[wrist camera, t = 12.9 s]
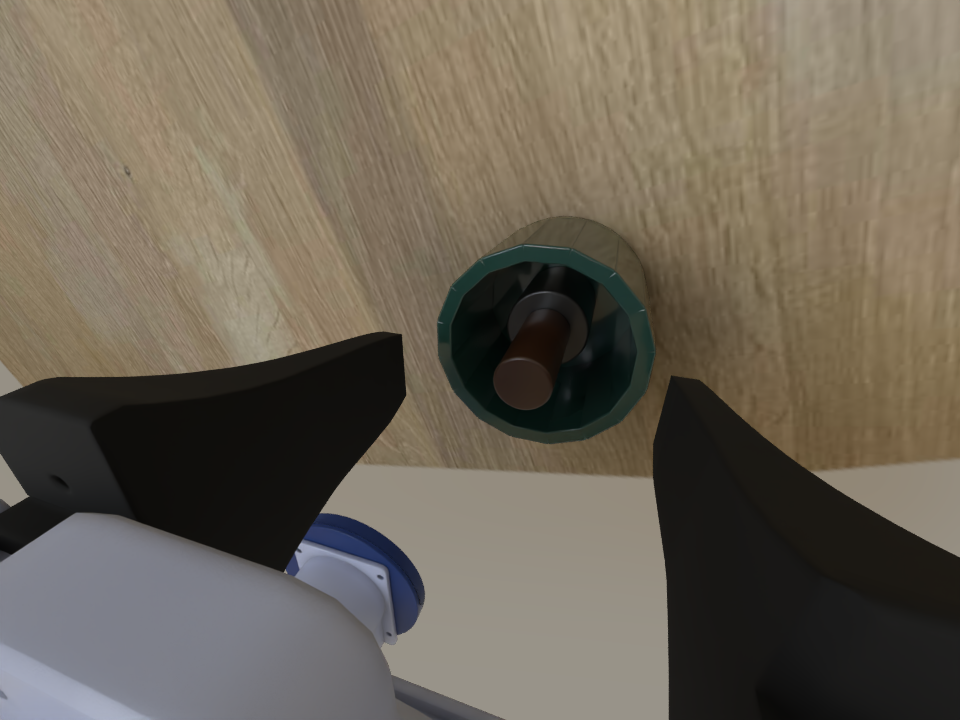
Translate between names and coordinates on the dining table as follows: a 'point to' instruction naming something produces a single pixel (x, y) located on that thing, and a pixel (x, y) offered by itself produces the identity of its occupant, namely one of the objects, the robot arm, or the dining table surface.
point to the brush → (544, 336)
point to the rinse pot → (581, 382)
